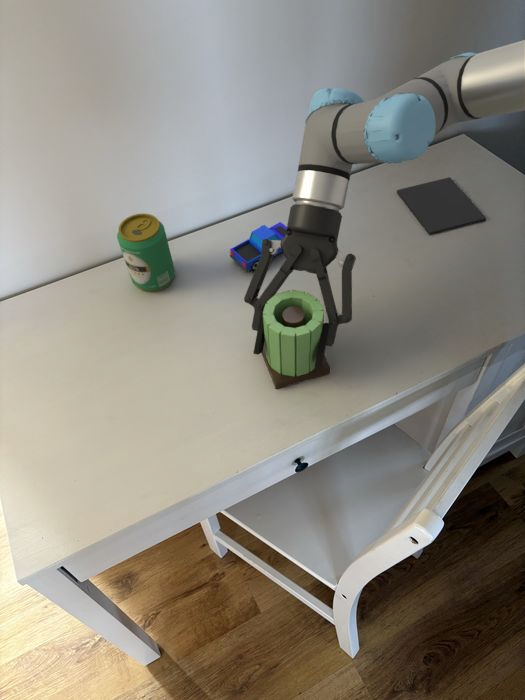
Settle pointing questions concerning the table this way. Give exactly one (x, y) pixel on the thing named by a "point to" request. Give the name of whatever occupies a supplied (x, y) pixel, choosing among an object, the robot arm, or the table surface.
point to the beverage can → (146, 252)
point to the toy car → (256, 246)
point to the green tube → (292, 333)
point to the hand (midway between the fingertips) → (287, 359)
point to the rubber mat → (440, 205)
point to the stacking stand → (295, 319)
